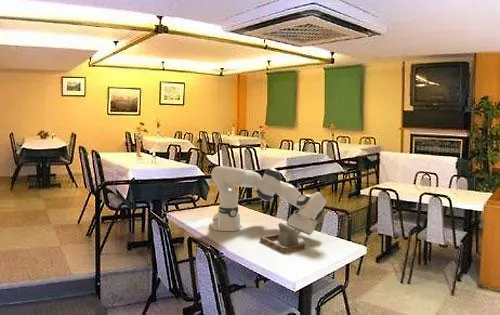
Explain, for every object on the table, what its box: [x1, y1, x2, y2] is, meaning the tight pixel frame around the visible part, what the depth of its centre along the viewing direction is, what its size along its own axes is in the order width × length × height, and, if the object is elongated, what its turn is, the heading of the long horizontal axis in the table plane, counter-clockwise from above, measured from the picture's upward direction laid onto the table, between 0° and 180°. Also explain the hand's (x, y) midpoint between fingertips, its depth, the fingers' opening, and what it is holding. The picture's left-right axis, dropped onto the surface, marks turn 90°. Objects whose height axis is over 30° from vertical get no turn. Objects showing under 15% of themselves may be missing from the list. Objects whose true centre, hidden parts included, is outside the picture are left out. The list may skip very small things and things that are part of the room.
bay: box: [259, 233, 306, 254], centre depth 250 cm, size 24×13×2 cm, turn 31°
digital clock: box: [277, 222, 300, 247], centre depth 252 cm, size 16×9×11 cm, turn 14°
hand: (292, 236), depth 252 cm, fingers closed
